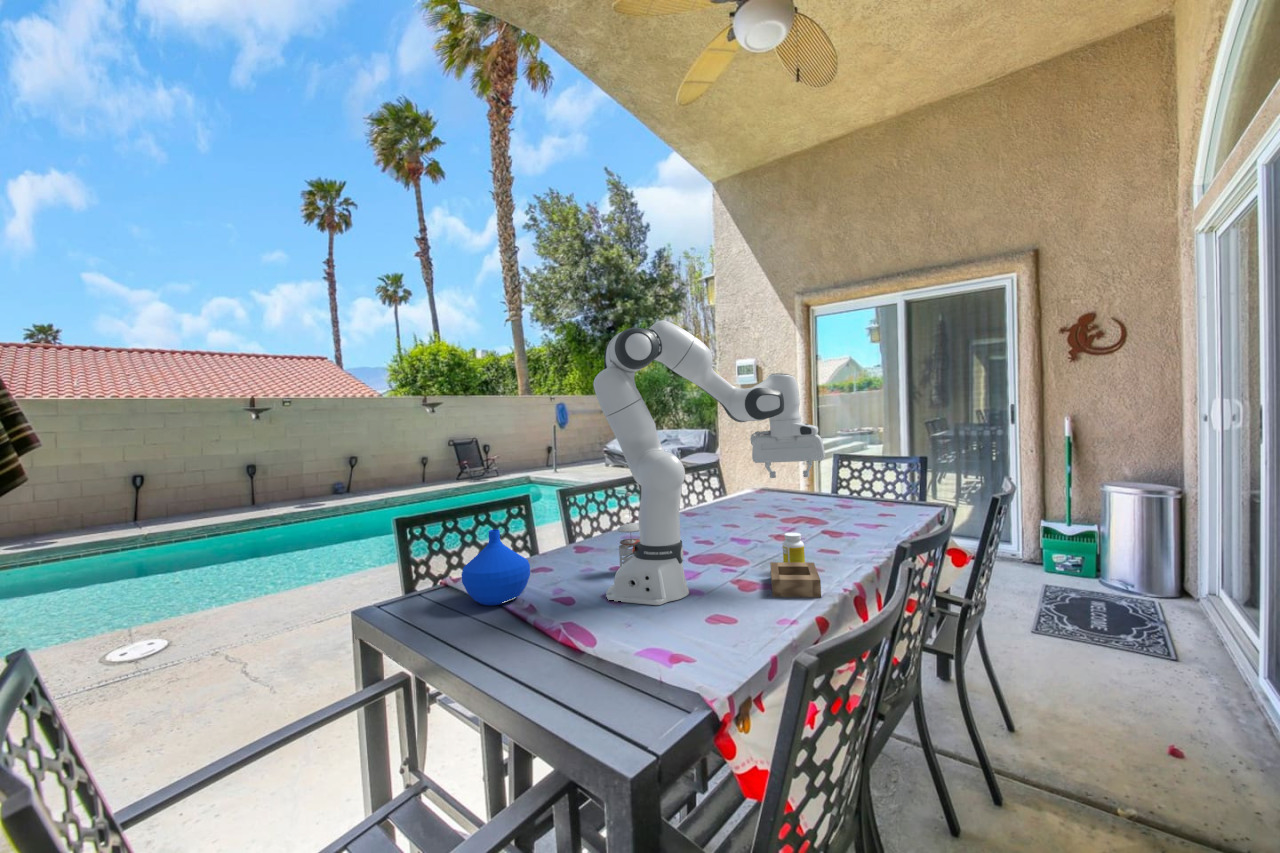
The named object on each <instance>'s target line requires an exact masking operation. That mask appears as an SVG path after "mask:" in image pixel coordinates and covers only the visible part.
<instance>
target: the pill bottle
mask: <svg viewBox="0 0 1280 853" xmlns="http://www.w3.org/2000/svg"><path fill="white" fill-rule="evenodd" d="M801 540H802V534H801V533H800V532H786V533H784V541H783V542H782V561H783V562H800V563H806V557H805V544H804V542H803V541H801Z"/></svg>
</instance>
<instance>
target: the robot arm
mask: <svg viewBox="0 0 1280 853" xmlns="http://www.w3.org/2000/svg"><path fill="white" fill-rule="evenodd" d="M603 356H604V362H603V364H604V366H603V370H601V371H599V373H597V375H596V376H595V377H594V380H593V384H592V386H593V389H594V392H595V396H596V400H597V402H598V404H599V406H600V408H601V410H602V413H603V415H604V418H605V419H606V421H607V423H608V425H609V427H610V428H611V431H612V433H613V434H614V436H615V438H616V441H617V442H618V444H619V447H620V449H621V452H622V454H623V457H624V460H625V462H626V464H627V467H628V468H629V472H630V473H631V476H632V477H633V479H634V481H635V482H636V483H637V484H638V485H640V486H641V487H640V488H641V490H640V491H641V492H640V493H641V494H640V504H639V510H638V516H637V517H638V524H639V531H638V532H639V533H638V534H639V539H640V540H636V542H635V543H634V545H633V546H632V547H631V549H633V550H632V551H633V555H634V556H633V557H632V558H631V559H630V560H628V561H627V562H626V563H625V564H622V565H623V566H621V567H620V566H619V568H618V570H617V571H616V573H615V576H614V580H613V584H612V585H611V586H610V587H608V588H607V589H606V593H605V598H606V597H607V599H608V600H607V599H606V600H607V601H609V600H614V601H613V602H618V601H621V602H620V603H630V604H640V605H650V606H651V605H653V606H661V605H663V604H665V603H668V602H673V601H678V600H681V599H684V598H686V597H687V596H688V595H689V594H690V589H689V587H688V584H687V580H686V576H685V571H684V570H685V569H684V566H683V561H684V545H683V541H682V539H681V528H680V527H681V525H680V524H681V523H680V509H681V508H680V506H681V500H682V490H683V484H684V481H685V479H686V469H685V466H684V465H683V463H682V462H681V460H680V459H679V458H678V456H676V455H675V454H674V453H671V452H668V451H665V449H664V447H663V446H662V443H661V441H660V440H661V439H660V438H659V435H658V431H657V427H656V426H657V425H656V422H655V421H654V419H653V417H652V415H651V413H650V410H649V408H648V407H647V405H646V403H645V401H644V399H643V397H642V395H641V393H640V391H639V390H638V388H637V385H636V381H635V375H636V372H638V371H641V370H642V369H644V368H646V367H647V366H648V365H650V364H651V363H652V362H654V361H657V362H659V363H662V365H664V366H665V367H666V368H668V369H669V370H672V371H673V372H674V373H675V374H677V375H678V376H680V377H682V378H684V379H686V380H688V381H689V382H691V383H693V384H695V386H698V388H700V389H701V391H704V392H705V393H706V394H708V395H709V396H710V397H711V398H712V399H714V400H715V401H717V402H718V403H719V404H720V405H721V406H722V408H723V410H724V411H725V412H726V414H727V416H728V417H729V418H730V419H731V420H733V421H735V422H737V423H746V422H759V421H760V422H761V421H764V420H765V421H766V420H767V419H768V420H769V428H770V429H769V430H764V431H762V430H761V431H759V430H758V431H755V432H753V433H752V434H751V435H750V444H751V446H752V447H751V448H752V452H751V453H752V454H751V458H752V459H751V460H752V462H754V463H755V464H764V467H765V469H766V470H767V471H768V473H769V478H770V479H776V477H777V475H776V472H777V471H774V470H773V469H772V467H771V466H772V464H773V463H794V462H795V463H796V462H799V463H800V462H805V463H806V465H807V468H806V470H803V471H802V474H803V475H802V477H803V478H810V470H811V468H812V466H813V462H819V461H820V462H821V461H823V460H824V459H825V457H826V453H825V452H826V451H825V445H824V442H823V439H822V437H821V436H820V435H819V434H818V433H819V427H818V425H813V424H809V423H804V422H802V416H801V414H800V404H801V401H800V400H801V399H800V398H801V397H800V391H799V390H800V389H799V385H798V382H797V379H796V378H795V376H793V375H791V374H789V373H782V372H781V373H779V372H777V373H771V374H768V376H767V378H766V379H764V380H762V381H761V382H760V383H758V384H756V385H753V387H747V388H743V387H737V386H734V385H732V384H731V383H730V382H728V381H727V380H726V379H725V378H724V377H722V376H721V375H719V373H717V372H716V371H715V370H714V369H713V353H712V351H711V349H710V348H709V347H708V346H707V345H706V344H705V343H704V342H703V341H702V340H700V339H699V338H697V337H696V336H695V335H693V334H692V333H690V332H688V331H687V330H685V329H684V328H682V327H680V326H678V325H676V324H674V323H673V322H670V321H668V320H665V319H664V320H658V321H656V322H655V323H653V324H652V325H651V326H650V327H649V328H643V327H642V328H641V327H630V328H626V329H625V330H623V331H621V332H619V333H616V334H615V335H614V336H613V337H612V338H611V340H609V341H608V343H607V344H606V347H605V349H604V354H603Z"/></svg>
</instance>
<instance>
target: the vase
mask: <svg viewBox="0 0 1280 853" xmlns="http://www.w3.org/2000/svg"><path fill="white" fill-rule="evenodd" d="M487 532H488V542H487V544H486V545H485V547H484V548H483V549H482V550H481V551H480V552H478V553H477V555H475V556H474V557H473V558H472V559H470V560H469V562H468V563H467V564H465V565H464V566H463V567H462V568H463V569H462V572H461V582H462V585H463V587H464V589H465V590H466V593H467V594H468V595H469V596H470V597H471V598H472V600H474V601H475V602H476V603H479V604H480V605H483V606H499V605H500V606H501V605H502V604H501V603H502V602H504V601H507V600H509V599H512V598H514V597H517V596H518V597H519V596H520V595H521V594H522V593H523V591H525V588H526V587H527V585H528V582H529V579H530V577H531V565H530V562H529V560H528V559H527V558H525V557H524V556H522V555H520V554H519V553H518V552H516V551H514V550H513V549H511V548H510V547H508V546H506V545H505V544H504V542H502V541H501V540H502V539H501V534H500V533H501V532H500V529H497V528H496V529H490V530H488V531H487ZM518 597H517V598H518Z"/></svg>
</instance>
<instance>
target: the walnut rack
mask: <svg viewBox="0 0 1280 853" xmlns="http://www.w3.org/2000/svg"><path fill="white" fill-rule="evenodd" d="M769 564H770V581H771V582H770V583H771V592H772V597H773V598H775V597H776V598H819V597H821V598H822V585H821V583H822V582H821V578H820V575H819V572H818V570H817V567H816V565H815V562H805V563H800V562H777V561H776V562H775V561H773V562H770V563H769Z"/></svg>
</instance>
